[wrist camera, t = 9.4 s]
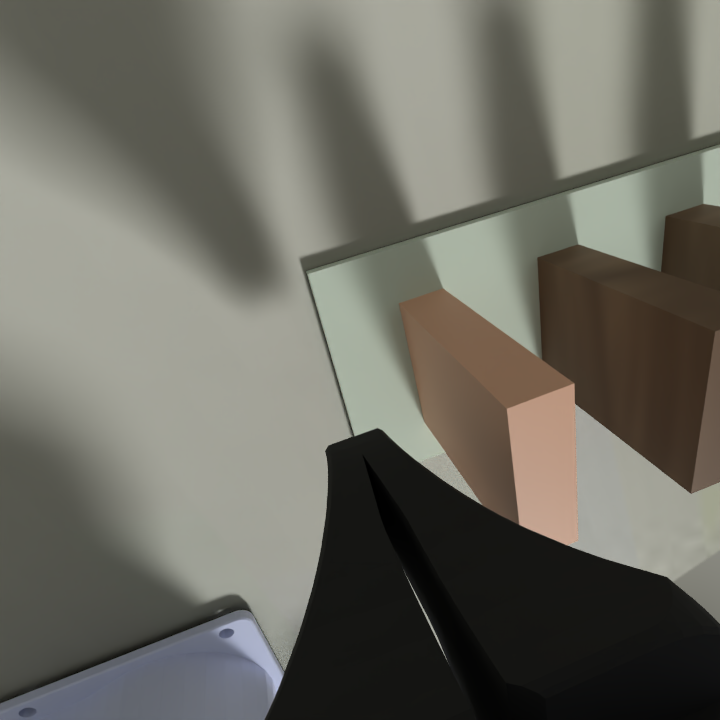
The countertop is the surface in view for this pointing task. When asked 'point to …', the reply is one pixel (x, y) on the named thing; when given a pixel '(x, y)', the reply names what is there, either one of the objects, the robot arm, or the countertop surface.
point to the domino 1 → (638, 356)
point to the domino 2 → (693, 245)
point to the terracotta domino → (496, 414)
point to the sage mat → (486, 280)
